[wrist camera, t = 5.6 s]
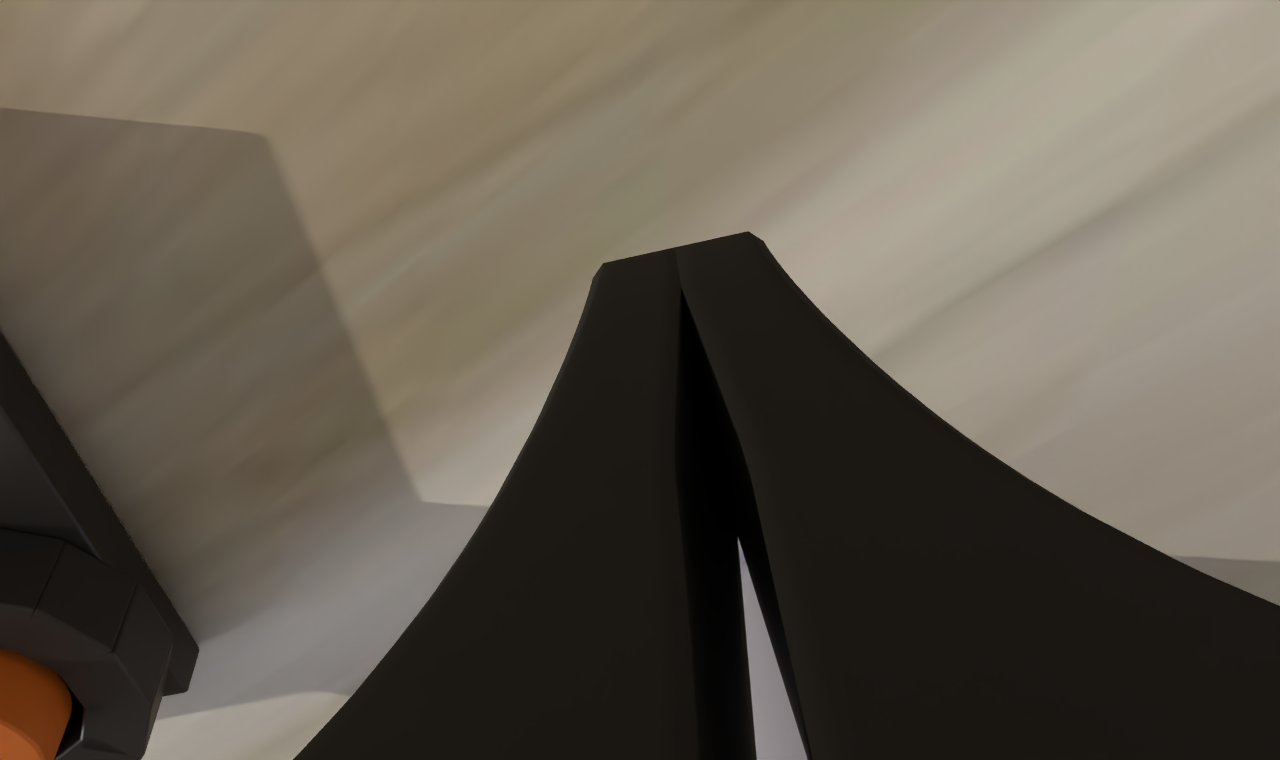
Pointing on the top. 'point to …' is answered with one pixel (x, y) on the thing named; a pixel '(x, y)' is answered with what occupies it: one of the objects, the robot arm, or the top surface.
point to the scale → (79, 586)
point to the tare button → (31, 709)
